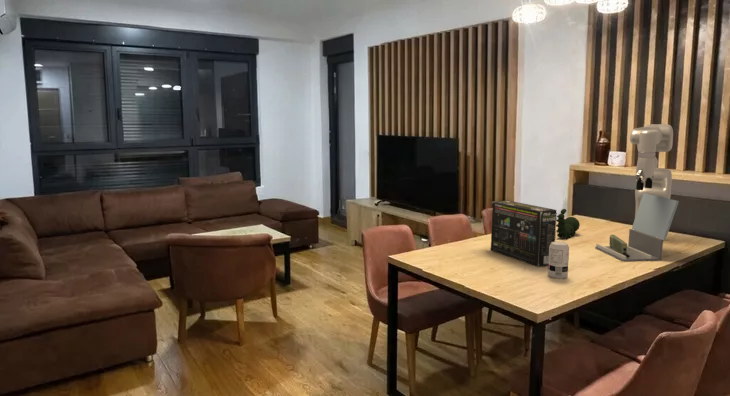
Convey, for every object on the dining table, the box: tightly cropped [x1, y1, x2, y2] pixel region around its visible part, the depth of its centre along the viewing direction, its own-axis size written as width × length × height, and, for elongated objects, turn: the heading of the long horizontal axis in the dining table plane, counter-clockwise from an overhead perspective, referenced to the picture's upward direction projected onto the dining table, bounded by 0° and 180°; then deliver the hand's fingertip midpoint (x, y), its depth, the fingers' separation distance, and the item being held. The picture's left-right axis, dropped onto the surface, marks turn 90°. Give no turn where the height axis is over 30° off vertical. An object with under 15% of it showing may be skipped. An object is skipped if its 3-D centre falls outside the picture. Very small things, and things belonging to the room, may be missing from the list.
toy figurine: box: [555, 208, 581, 239], centre depth 302 cm, size 9×19×25 cm
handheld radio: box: [609, 234, 630, 257], centre depth 262 cm, size 7×3×25 cm
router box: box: [490, 200, 558, 267], centre depth 257 cm, size 36×11×27 cm, turn 26°
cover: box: [631, 193, 680, 241], centre depth 261 cm, size 20×26×1 cm
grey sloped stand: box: [594, 228, 664, 263], centre depth 262 cm, size 20×26×10 cm
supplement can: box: [547, 241, 570, 280], centre depth 225 cm, size 8×8×15 cm
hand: (644, 189), depth 259 cm, fingers open, 9 cm apart
